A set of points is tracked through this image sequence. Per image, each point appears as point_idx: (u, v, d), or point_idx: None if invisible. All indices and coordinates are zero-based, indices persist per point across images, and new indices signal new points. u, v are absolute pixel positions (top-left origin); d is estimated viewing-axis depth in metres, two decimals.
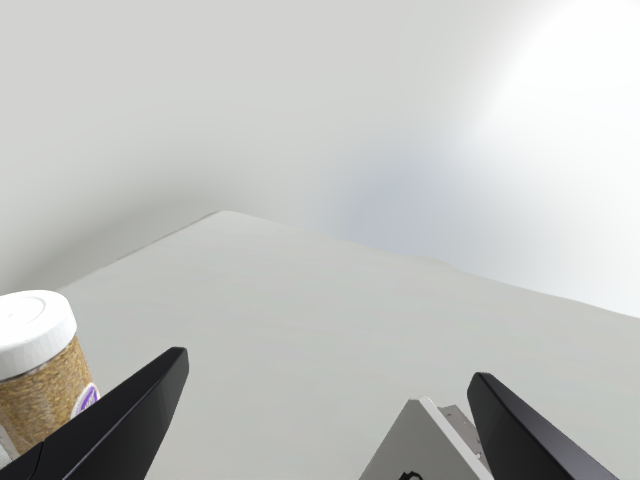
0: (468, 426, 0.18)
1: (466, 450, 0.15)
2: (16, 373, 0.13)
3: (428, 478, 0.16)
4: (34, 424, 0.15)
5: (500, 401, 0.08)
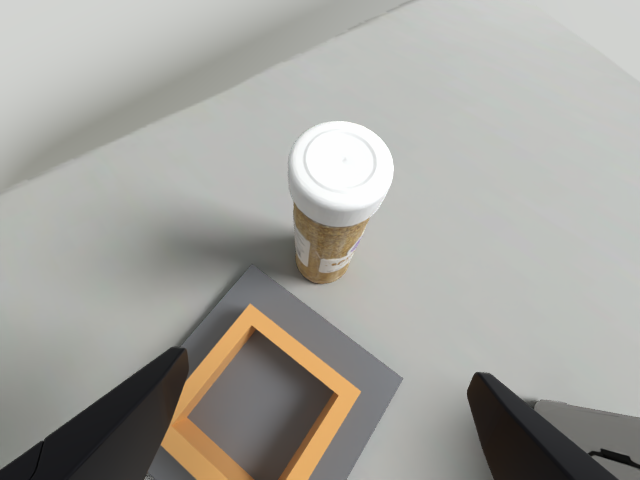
0: None
1: None
2: (344, 226, 0.13)
3: None
4: (329, 250, 0.17)
5: (500, 401, 0.08)
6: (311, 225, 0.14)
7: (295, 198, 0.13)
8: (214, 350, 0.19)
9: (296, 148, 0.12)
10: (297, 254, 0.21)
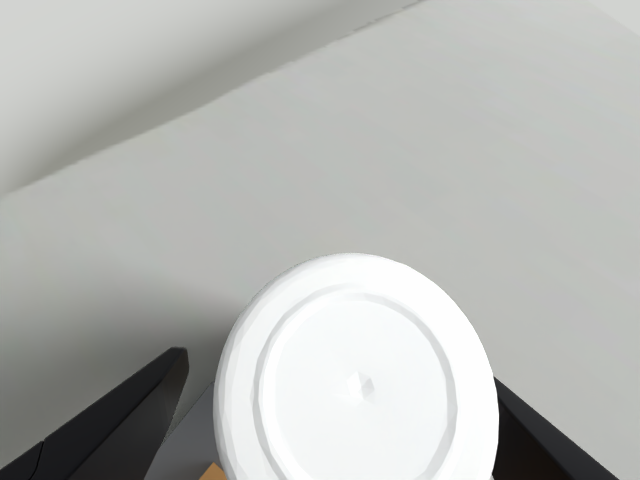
0: None
1: None
2: None
3: None
4: None
5: (500, 401, 0.08)
6: None
7: None
8: None
9: (236, 350, 0.05)
10: None
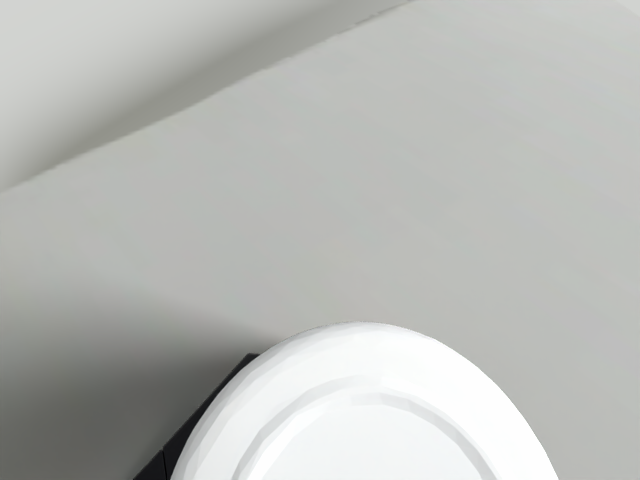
0: None
1: None
2: None
3: None
4: None
5: None
6: None
7: None
8: None
9: None
10: None
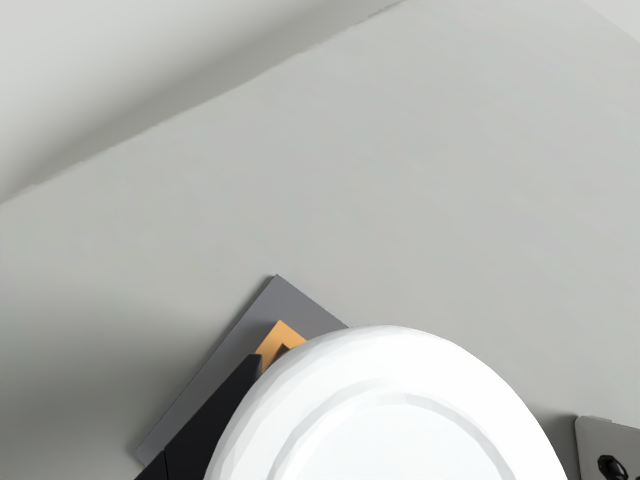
0: None
1: None
2: None
3: None
4: None
5: None
6: None
7: None
8: None
9: None
10: None
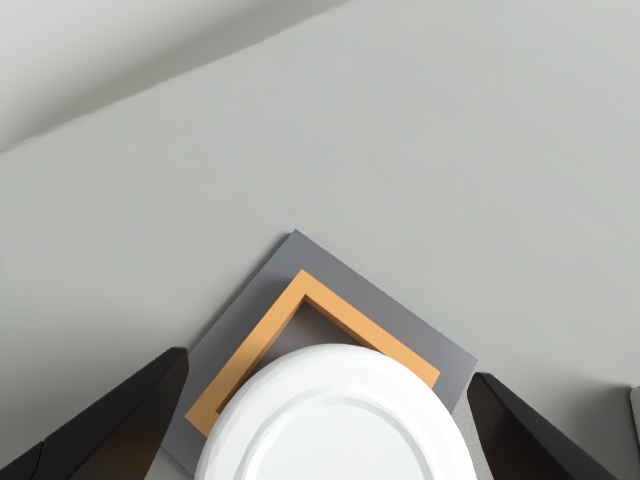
0: None
1: None
2: None
3: None
4: None
5: (500, 401, 0.08)
6: None
7: None
8: (262, 322, 0.16)
9: (211, 468, 0.04)
10: None
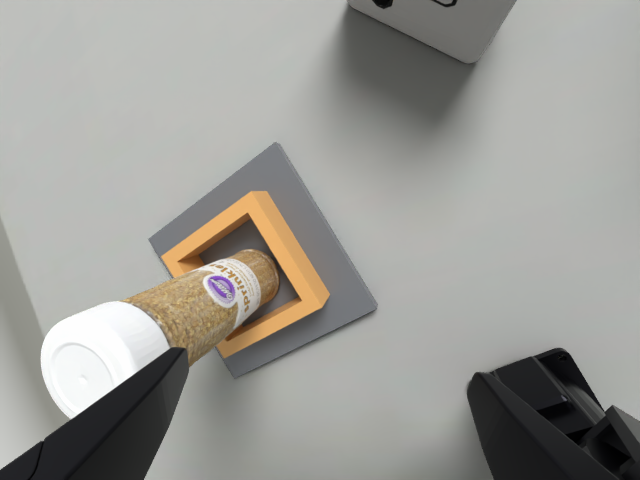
0: None
1: None
2: None
3: None
4: (218, 337, 0.15)
5: (500, 401, 0.08)
6: None
7: None
8: None
9: (65, 413, 0.11)
10: None
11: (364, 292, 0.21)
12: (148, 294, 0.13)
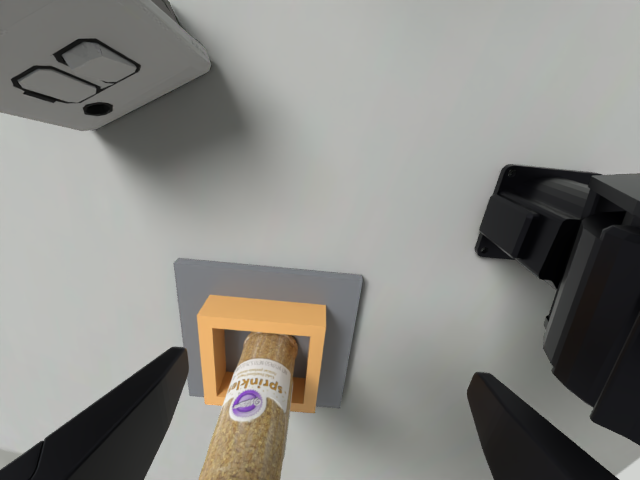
0: None
1: None
2: None
3: (7, 70, 0.12)
4: (278, 435, 0.17)
5: (500, 401, 0.08)
6: None
7: None
8: None
9: None
10: None
11: (343, 281, 0.22)
12: (203, 474, 0.15)
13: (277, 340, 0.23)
